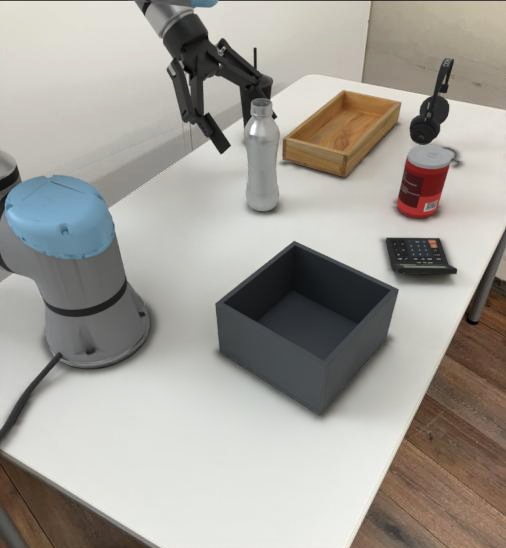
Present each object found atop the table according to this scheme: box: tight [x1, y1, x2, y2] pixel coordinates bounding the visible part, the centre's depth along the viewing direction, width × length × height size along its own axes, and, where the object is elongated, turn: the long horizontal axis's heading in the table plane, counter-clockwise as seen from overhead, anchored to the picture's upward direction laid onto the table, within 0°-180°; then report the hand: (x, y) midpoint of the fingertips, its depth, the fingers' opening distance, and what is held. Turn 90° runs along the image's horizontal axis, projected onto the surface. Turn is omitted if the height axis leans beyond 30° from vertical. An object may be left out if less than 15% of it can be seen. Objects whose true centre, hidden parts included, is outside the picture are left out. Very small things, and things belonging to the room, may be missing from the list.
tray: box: [281, 89, 402, 178], centre depth 116 cm, size 31×15×6 cm, turn 149°
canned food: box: [396, 144, 453, 219], centre depth 95 cm, size 8×8×11 cm
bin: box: [214, 240, 400, 416], centre depth 72 cm, size 18×18×10 cm
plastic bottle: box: [243, 98, 281, 212], centre depth 93 cm, size 6×7×20 cm
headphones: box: [408, 57, 460, 167], centre depth 104 cm, size 15×11×20 cm
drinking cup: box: [238, 47, 274, 130], centre depth 112 cm, size 8×8×20 cm
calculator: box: [385, 237, 458, 275], centre depth 87 cm, size 9×12×3 cm
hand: (250, 135), depth 92 cm, fingers open, 13 cm apart
